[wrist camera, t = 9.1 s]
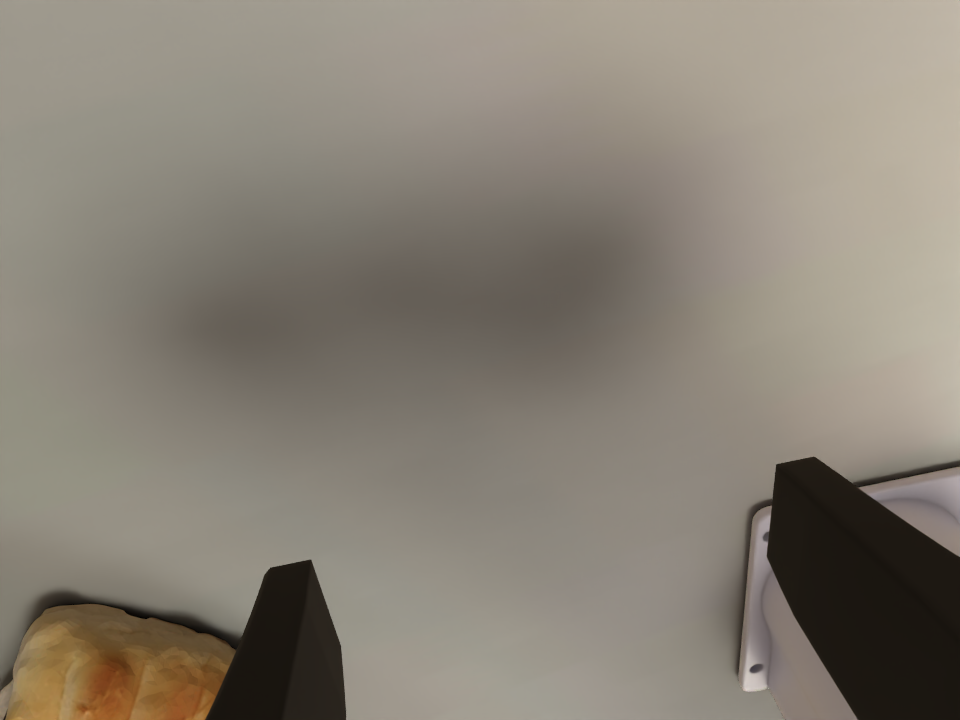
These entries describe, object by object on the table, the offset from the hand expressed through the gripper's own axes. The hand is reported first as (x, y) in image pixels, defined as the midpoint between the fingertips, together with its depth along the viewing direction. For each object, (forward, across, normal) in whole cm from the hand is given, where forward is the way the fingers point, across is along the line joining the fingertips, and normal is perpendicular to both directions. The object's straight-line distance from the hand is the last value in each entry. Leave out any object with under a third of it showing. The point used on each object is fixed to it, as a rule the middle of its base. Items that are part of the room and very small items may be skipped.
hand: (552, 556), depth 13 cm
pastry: (+10, +12, +12) cm, 19 cm away
